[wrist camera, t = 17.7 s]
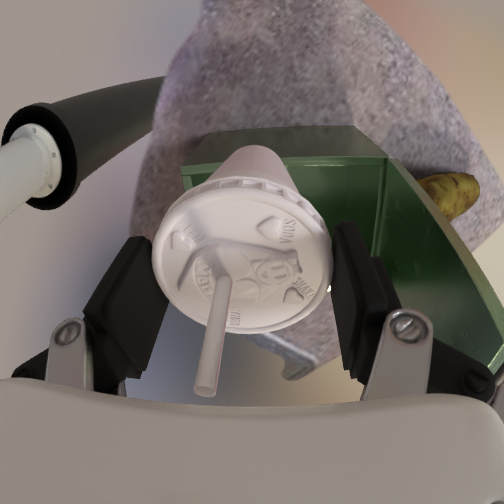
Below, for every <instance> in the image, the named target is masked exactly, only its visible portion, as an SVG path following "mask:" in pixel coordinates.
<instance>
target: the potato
mask: <svg viewBox="0 0 504 504" xmlns="http://www.w3.org/2000/svg"><path fill="white" fill-rule="evenodd" d="M416 181H417V182H418V183H419V185H420V186H421V187H422V188H423V189H424V191H425V192H426V193H427V194H428V195H429V197H430V198H431V199H432V200H433V202H434V203H435V204H436V205H437V207H438V208H439V209H440V211H441V212H442V213H443V215H444V216H445V217H446V218H447V220H448V221H449V223H450V222H451V221H452V220H453V219H454V218H456V217H457V216H459V215H461V214H463V213H464V212H466V211H467V210H468V209H469V208H470V207H472V206H473V205H474V203H475V202H476V201H477V199H478V198H479V194H480V186H479V183H478V181H477V180H476V179H475V178H474V176H473V175H470V174H467V173H462V172H461V173H457V172H450V173H445V174H444V173H443V174H436V175H432V176H429V177H425V178H422V179H419V180H416Z"/></svg>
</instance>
